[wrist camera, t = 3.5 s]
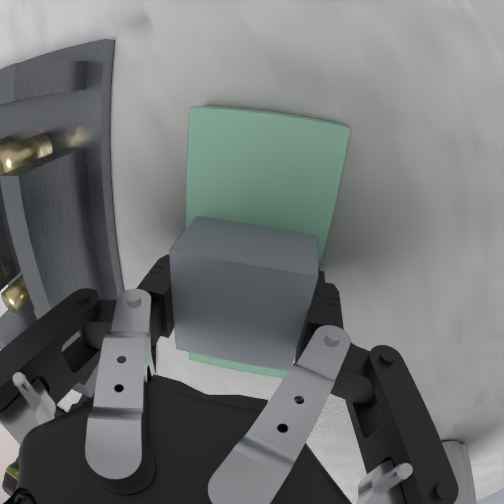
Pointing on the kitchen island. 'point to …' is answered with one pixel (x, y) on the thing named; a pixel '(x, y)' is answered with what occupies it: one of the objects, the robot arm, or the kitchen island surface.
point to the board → (263, 176)
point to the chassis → (56, 186)
